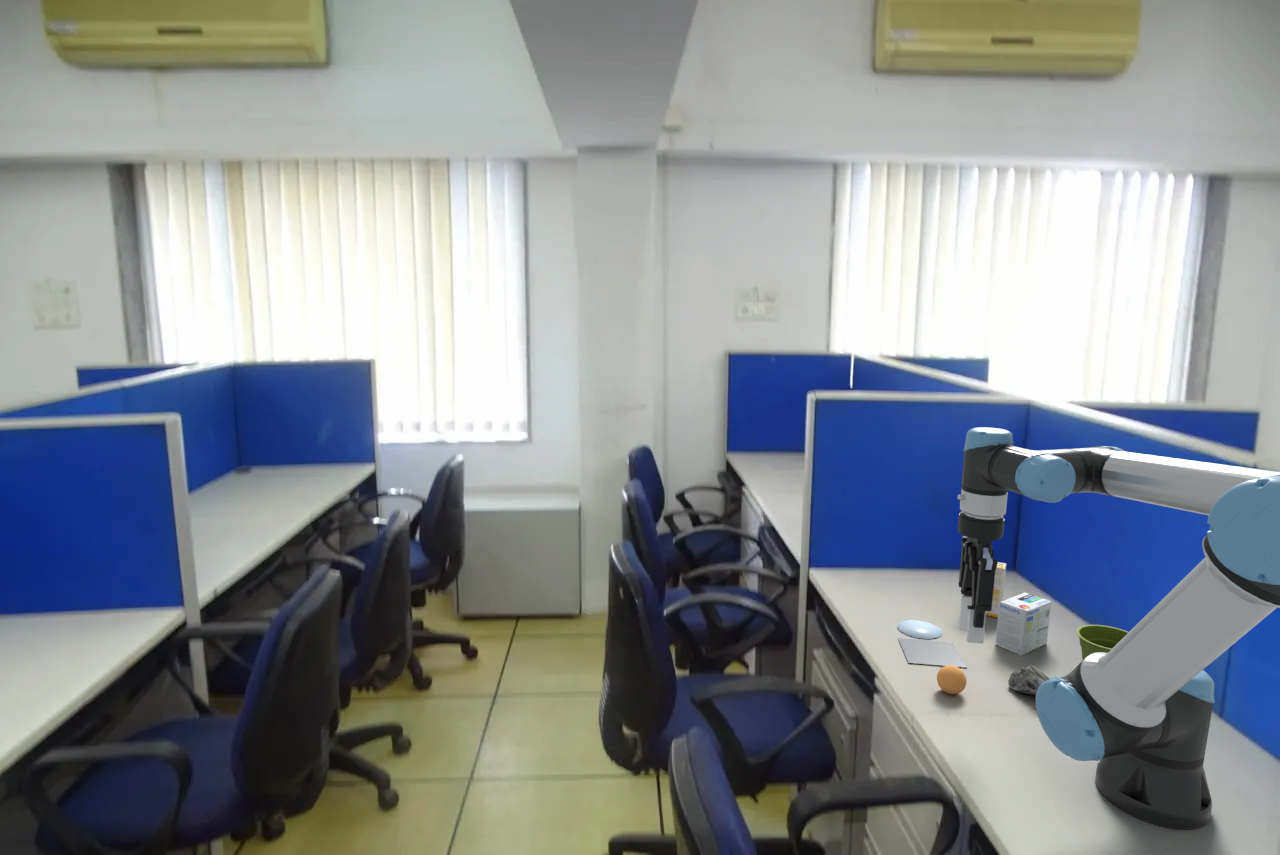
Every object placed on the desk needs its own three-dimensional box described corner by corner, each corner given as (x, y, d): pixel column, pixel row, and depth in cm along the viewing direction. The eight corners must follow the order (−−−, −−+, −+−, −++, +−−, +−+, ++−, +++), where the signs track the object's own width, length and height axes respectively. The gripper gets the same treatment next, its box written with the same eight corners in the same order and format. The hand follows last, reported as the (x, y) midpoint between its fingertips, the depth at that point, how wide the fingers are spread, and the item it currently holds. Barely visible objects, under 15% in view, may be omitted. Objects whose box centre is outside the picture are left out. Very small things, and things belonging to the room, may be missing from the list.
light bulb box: (1019, 633, 174) (1024, 590, 172) (1048, 645, 169) (1053, 600, 167) (993, 645, 168) (998, 600, 167) (1022, 656, 163) (1027, 611, 161)
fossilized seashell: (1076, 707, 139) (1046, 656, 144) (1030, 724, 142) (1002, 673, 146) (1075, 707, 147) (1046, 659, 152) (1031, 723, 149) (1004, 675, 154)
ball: (968, 700, 144) (971, 674, 144) (939, 698, 145) (941, 672, 144) (961, 686, 150) (963, 661, 149) (932, 684, 151) (935, 659, 150)
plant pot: (1068, 669, 157) (1074, 620, 155) (1134, 682, 152) (1140, 631, 150) (1073, 695, 147) (1079, 642, 145) (1143, 710, 142) (1151, 655, 140)
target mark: (966, 668, 157) (966, 667, 157) (908, 663, 159) (908, 662, 159) (952, 643, 169) (952, 642, 169) (898, 639, 171) (898, 638, 171)
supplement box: (1002, 612, 186) (1007, 563, 184) (1000, 618, 182) (1005, 568, 180) (967, 604, 191) (972, 556, 189) (964, 611, 187) (969, 562, 185)
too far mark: (946, 640, 170) (946, 640, 170) (901, 637, 172) (901, 636, 172) (936, 622, 180) (936, 621, 180) (894, 619, 181) (894, 618, 181)
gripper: (947, 499, 141) (938, 614, 145) (973, 527, 124) (962, 656, 127) (989, 501, 140) (978, 617, 143) (1021, 529, 122) (1008, 659, 126)
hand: (970, 635), depth 135 cm, fingers open, 4 cm apart
